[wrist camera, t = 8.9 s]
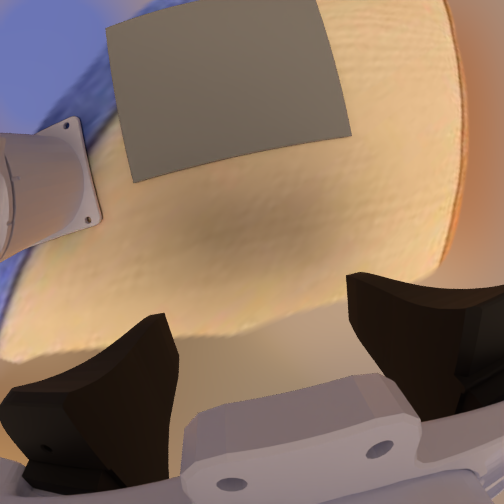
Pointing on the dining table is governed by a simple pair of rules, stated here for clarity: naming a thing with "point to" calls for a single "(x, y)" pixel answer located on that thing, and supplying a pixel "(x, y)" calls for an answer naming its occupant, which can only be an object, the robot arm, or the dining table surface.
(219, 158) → the mat
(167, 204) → the dining table surface
